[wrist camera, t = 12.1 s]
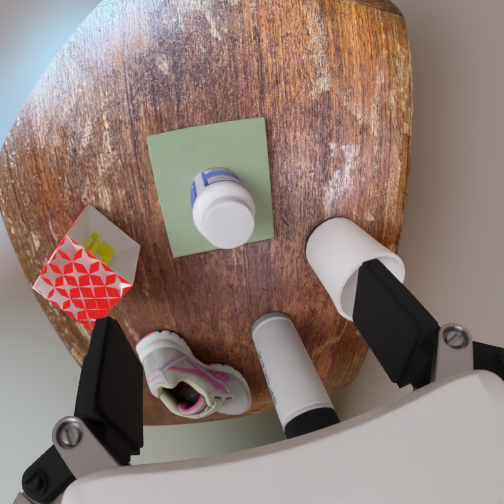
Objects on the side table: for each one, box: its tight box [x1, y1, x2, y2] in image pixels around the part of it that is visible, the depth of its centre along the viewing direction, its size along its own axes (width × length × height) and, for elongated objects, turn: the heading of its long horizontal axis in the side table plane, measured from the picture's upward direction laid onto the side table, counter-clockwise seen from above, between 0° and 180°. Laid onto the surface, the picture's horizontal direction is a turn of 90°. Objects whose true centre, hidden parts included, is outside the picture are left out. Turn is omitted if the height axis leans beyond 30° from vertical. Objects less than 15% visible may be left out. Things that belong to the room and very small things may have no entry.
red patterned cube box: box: [33, 204, 141, 330], centre depth 28 cm, size 8×8×8 cm
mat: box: [147, 117, 274, 258], centre depth 32 cm, size 14×12×1 cm
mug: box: [305, 217, 405, 321], centre depth 35 cm, size 11×9×10 cm
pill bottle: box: [190, 166, 255, 249], centre depth 27 cm, size 5×5×10 cm
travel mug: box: [251, 312, 340, 439], centre depth 35 cm, size 6×7×20 cm
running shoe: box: [136, 330, 251, 419], centre depth 41 cm, size 9×22×10 cm, turn 41°
